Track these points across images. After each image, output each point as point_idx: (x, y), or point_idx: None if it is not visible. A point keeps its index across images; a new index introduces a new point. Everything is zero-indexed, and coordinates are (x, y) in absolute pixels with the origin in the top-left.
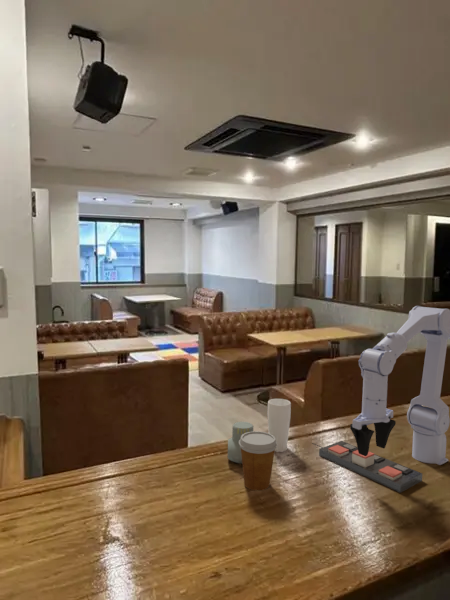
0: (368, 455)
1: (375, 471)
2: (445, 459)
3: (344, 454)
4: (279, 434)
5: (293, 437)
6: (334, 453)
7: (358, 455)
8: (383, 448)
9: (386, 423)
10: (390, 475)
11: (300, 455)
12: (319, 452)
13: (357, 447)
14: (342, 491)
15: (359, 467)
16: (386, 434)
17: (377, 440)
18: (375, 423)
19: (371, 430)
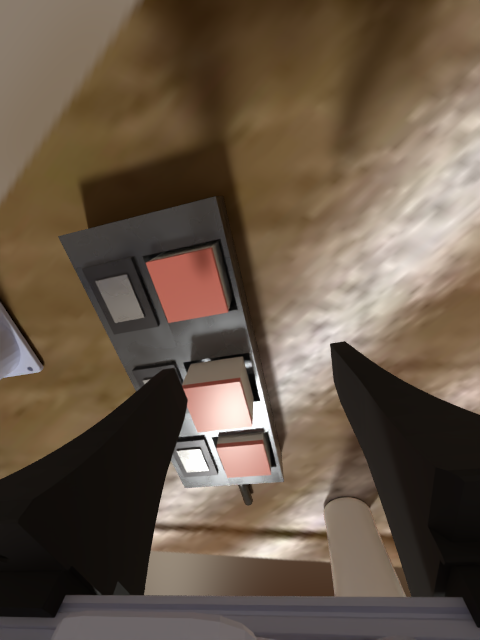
0: (215, 387)
1: (228, 321)
2: None
3: (238, 437)
4: (386, 568)
5: (257, 532)
6: (266, 450)
7: (246, 403)
8: (174, 368)
9: (72, 532)
10: (214, 260)
11: (310, 479)
12: (282, 470)
13: None
14: (371, 307)
15: (256, 365)
16: (127, 427)
17: (177, 421)
18: (142, 550)
19: (477, 499)
